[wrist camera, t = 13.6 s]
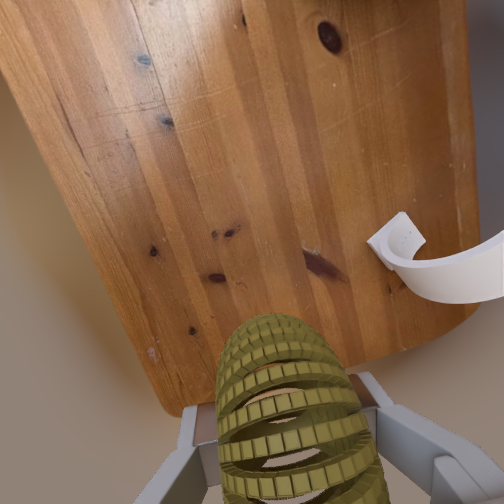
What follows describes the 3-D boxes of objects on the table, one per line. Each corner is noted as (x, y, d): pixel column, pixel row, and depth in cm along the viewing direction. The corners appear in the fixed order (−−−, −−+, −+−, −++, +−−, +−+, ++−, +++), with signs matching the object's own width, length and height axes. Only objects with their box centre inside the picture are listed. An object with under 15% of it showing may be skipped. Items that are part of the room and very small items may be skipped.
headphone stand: (420, 239, 30) (545, 274, 18) (380, 274, 30) (477, 329, 19) (399, 211, 29) (520, 229, 17) (358, 247, 29) (448, 288, 18)
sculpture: (209, 289, 11) (181, 521, 3) (298, 273, 11) (455, 453, 4) (240, 428, 13) (265, 762, 6) (314, 411, 14) (435, 709, 6)
